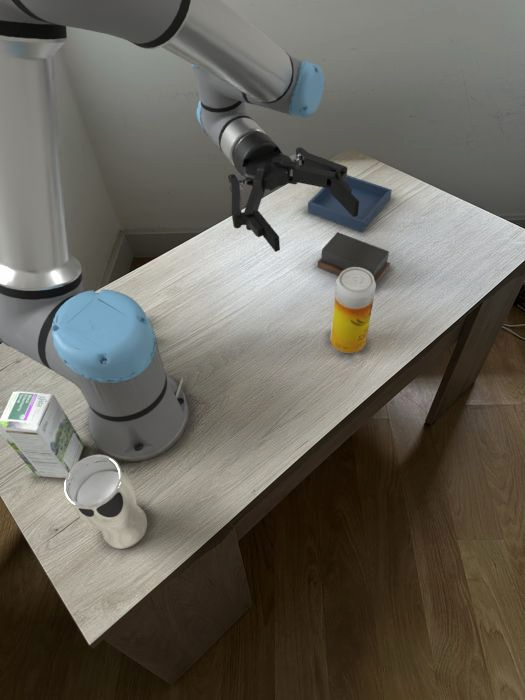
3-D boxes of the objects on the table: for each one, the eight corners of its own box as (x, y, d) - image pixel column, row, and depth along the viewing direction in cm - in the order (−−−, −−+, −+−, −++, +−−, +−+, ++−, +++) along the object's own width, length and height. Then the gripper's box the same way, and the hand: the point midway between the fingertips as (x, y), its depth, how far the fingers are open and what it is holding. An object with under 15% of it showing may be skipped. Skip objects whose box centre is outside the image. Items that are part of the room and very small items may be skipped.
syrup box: (49, 442, 80) (10, 389, 68) (86, 445, 79) (53, 392, 68) (36, 476, 76) (-9, 427, 65) (74, 480, 76) (36, 430, 64)
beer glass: (130, 492, 74) (100, 441, 62) (161, 525, 71) (135, 478, 59) (89, 527, 71) (50, 481, 60) (119, 563, 68) (84, 522, 56)
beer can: (363, 358, 87) (375, 295, 76) (327, 353, 88) (333, 290, 77) (366, 331, 91) (378, 267, 79) (332, 326, 92) (338, 263, 80)
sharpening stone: (317, 267, 102) (318, 249, 98) (334, 247, 105) (336, 229, 102) (372, 290, 97) (375, 272, 94) (389, 268, 101) (392, 250, 97)
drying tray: (307, 212, 113) (308, 202, 111) (337, 182, 119) (338, 171, 117) (362, 232, 108) (363, 222, 106) (390, 199, 114) (392, 189, 112)
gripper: (314, 145, 93) (384, 214, 82) (188, 196, 88) (245, 277, 77) (315, 106, 87) (391, 175, 76) (179, 158, 82) (239, 240, 71)
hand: (317, 226), depth 76 cm, fingers open, 13 cm apart
